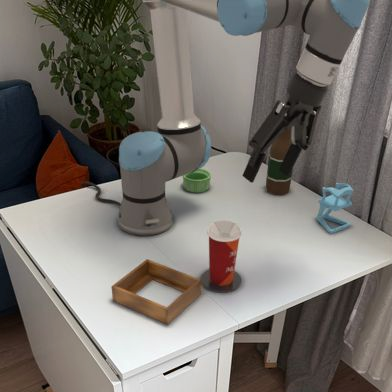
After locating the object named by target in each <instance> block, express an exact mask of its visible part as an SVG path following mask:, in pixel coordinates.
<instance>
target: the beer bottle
mask: <svg viewBox="0 0 392 392" xmlns="http://www.w3.org/2000/svg"><path fill="white" fill-rule="evenodd" d="M292 130H293V127H290V128H289V129H288V130H285V131H284V132H283V133H282V134H281V135H280V136H279V137H278V138H277V139H276V140H275V141H274V142H273V143H272V144H271V145H270V147H269V154H268V163H267V170H266V179H265V189H266V192H267V193H269V194H271V195H274V196H284V195H286V194H287V193H289V192H290V188H291V185H292V184H291V183H292V178H293V170H294V167H293V168H292V170H291V172H290V174H289V176H286V175H285V174H283V173H282V172H281V171H279V168H280V166H281V164H282V162H283V160H284V158H285V155H286V153H287V151H288V149H289V147H290V145H291V144H292V143H293V144H294V141H293V140H292Z"/></svg>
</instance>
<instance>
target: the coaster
mask: <svg viewBox="0 0 392 392" xmlns="http://www.w3.org/2000/svg"><path fill="white" fill-rule="evenodd" d="M199 279H201V286H202V287H204V288H205V289H206V290H208V291H210V292H213V293H218V294H226V293H231V292H234V291H236V290H237V289H239V288H240V287H241V285H242V276H241V274H239V273H238V272H237V271H235V270H234V276H233V280H232V282H231V283H230V284H228V285H225V286H219V285H215V284H213V283H212V282H211V280H210V268H208V269H207V270H205V271H203V273H202V274H201V275H200V278H199Z"/></svg>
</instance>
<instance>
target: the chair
mask: <svg viewBox="0 0 392 392" xmlns="http://www.w3.org/2000/svg"><path fill="white" fill-rule="evenodd" d="M341 187H342V188H341ZM339 188H340V189H339ZM354 191H355V190H354V189H353V188H352V187H351V185H350V184H348V183H345V182H344V183H343V182H342V183H338V182H336V183H335V187H334V186H333V187H332V186H331V187H323V186H322V197H321V198H318V203H319V209H318V212H317V216H316V221H317V222H318V223H319V224H320V225H321V226H322V227H323V228H324V229H325V230H326V231H327V233H329V234H331V235H333V234H335V233H337V232H340V231H342V230H346V229H347V228H350V227H351V223H350V222H349V221H346V220H344V219H340V218H337V217H334V216H332V215H330V214H331V212H332V211H333V212H338V211H340V210H342V209H345V208H349V207H351V206H352V204H353V202H352V201H350V199H351V197H352V195H353V194H354ZM326 192H328V193H330V194H331V195H328V196H327V193H326ZM346 195H347V197H346V199H345V198H344V197H345V196H346ZM324 211H325V212H324ZM324 219H325V220H327V221H331V222H334V223H337V224H340V226H337V227H335V228H331V227H330V226H329V225H328V223H327V222H326V221H325V220H324Z"/></svg>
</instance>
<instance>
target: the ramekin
mask: <svg viewBox="0 0 392 392" xmlns="http://www.w3.org/2000/svg"><path fill="white" fill-rule="evenodd" d="M211 178H212V173H211V172H210V171H209V170H208V169H205V168H203V167H202V168H200V169H198V170H196V171H195V172H193V173H188V174H186V175H183V176H182V182H183V183H182V184H183V188H184V189H185V190H186V191H188V192H191V193H203V192H206V191H208V189H209V188H210V182H211Z"/></svg>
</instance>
